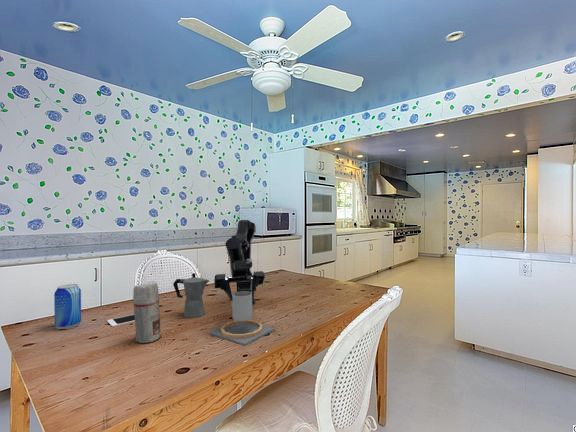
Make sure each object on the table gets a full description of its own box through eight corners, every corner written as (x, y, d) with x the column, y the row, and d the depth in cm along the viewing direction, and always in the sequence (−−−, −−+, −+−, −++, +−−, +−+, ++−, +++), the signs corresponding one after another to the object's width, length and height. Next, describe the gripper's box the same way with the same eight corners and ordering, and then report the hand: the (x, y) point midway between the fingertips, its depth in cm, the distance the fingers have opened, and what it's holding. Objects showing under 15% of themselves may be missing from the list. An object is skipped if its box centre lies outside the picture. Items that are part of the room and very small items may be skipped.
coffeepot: (211, 310, 135) (211, 270, 135) (206, 317, 126) (206, 275, 126) (177, 311, 135) (176, 271, 135) (169, 318, 125) (169, 275, 125)
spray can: (143, 346, 99) (142, 285, 99) (129, 341, 103) (128, 283, 103) (166, 337, 106) (165, 281, 106) (151, 332, 110) (151, 278, 110)
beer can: (86, 323, 120) (85, 284, 120) (64, 331, 112) (64, 289, 112) (71, 321, 123) (71, 282, 123) (49, 329, 115) (48, 287, 115)
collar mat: (208, 333, 109) (208, 328, 109) (239, 320, 122) (239, 316, 122) (244, 345, 99) (244, 340, 98) (274, 330, 112) (274, 325, 112)
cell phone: (159, 317, 129) (159, 314, 129) (112, 328, 116) (112, 325, 116) (152, 312, 135) (152, 310, 135) (106, 322, 123) (106, 320, 123)
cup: (240, 323, 104) (240, 298, 104) (224, 316, 111) (223, 292, 111) (256, 317, 110) (256, 293, 109) (239, 311, 116) (239, 288, 116)
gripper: (214, 253, 111) (217, 290, 101) (263, 250, 117) (270, 285, 106) (213, 270, 119) (215, 306, 108) (259, 267, 124) (265, 301, 114)
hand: (242, 299), depth 109 cm, fingers closed on cup, 7 cm apart
